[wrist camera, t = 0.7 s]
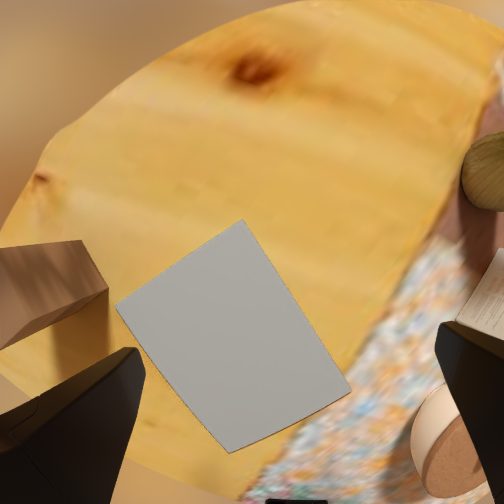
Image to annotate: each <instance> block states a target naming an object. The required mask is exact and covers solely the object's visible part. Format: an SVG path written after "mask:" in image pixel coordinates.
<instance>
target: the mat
mask: <svg viewBox="0 0 504 504" xmlns="http://www.w3.org/2000/svg"><path fill="white" fill-rule="evenodd" d="M115 308H116V309H117V311H118V312H119V314H120V315H121V317H122V318H123V320H124V321H125V323H126V324H127V326H128V327H129V329H130V330H131V332H132V333H133V335H134V336H135V338H136V339H137V341H138V342H139V343H140V345H141V346H142V348H143V349H144V351H145V352H146V353H147V355H148V356H149V357H150V359H151V360H152V362H153V363H154V364H155V366H156V367H157V368H158V370H159V371H160V372H161V374H162V375H163V376H164V378H165V379H166V380H167V381H168V383H169V384H170V385H171V387H172V388H173V389H174V390H175V392H176V393H177V394H178V395H179V397H180V398H181V399H182V400H183V402H184V403H185V404H186V405H187V406H188V408H189V409H190V410H191V411H192V412H193V414H194V415H195V416H196V417H197V418H198V419H199V421H200V422H201V423H202V424H203V425H204V426H205V428H206V429H207V430H208V431H209V432H210V433H211V434H212V435H213V437H214V438H215V439H216V440H217V441H218V442H219V443H220V444H221V445H222V446H223V447H224V448H225V450H226V451H227V452H228V453H230V452H233V451H235V450H238V449H240V448H242V447H245V446H247V445H249V444H252V443H254V442H256V441H258V440H260V439H263V438H265V437H267V436H269V435H271V434H273V433H275V432H277V431H280V430H282V429H284V428H286V427H288V426H290V425H292V424H294V423H295V422H297V421H299V420H301V419H303V418H305V417H307V416H309V415H311V414H313V413H314V412H316V411H318V410H320V409H322V408H323V407H325V406H327V405H329V404H330V403H332V402H334V401H336V400H337V399H339V398H341V397H342V396H344V395H346V394H347V393H349V392H351V391H352V389H351V387H350V386H349V384H348V383H347V381H346V379H345V378H344V376H343V375H342V373H341V372H340V370H339V368H338V367H337V365H336V364H335V362H334V360H333V359H332V357H331V356H330V354H329V353H328V351H327V349H326V348H325V346H324V345H323V343H322V342H321V340H320V338H319V337H318V335H317V334H316V332H315V331H314V329H313V327H312V326H311V324H310V323H309V321H308V320H307V318H306V316H305V315H304V313H303V312H302V310H301V309H300V307H299V305H298V304H297V302H296V301H295V299H294V298H293V296H292V295H291V293H290V291H289V290H288V288H287V287H286V285H285V284H284V282H283V281H282V279H281V277H280V276H279V274H278V273H277V271H276V270H275V268H274V267H273V265H272V263H271V262H270V260H269V259H268V257H267V256H266V254H265V253H264V251H263V250H262V248H261V246H260V245H259V243H258V242H257V240H256V239H255V237H254V236H253V234H252V233H251V231H250V229H249V228H248V226H247V225H246V223H245V222H244V220H243V219H242V220H240V221H239V222H237V223H235V224H234V225H232V226H231V227H229V228H228V229H226V230H225V231H223V232H222V233H220V234H219V235H217V236H216V237H214V238H213V239H211V240H210V241H208V242H207V243H205V244H204V245H202V246H201V247H199V248H198V249H196V250H195V251H193V252H192V253H190V254H189V255H187V256H186V257H184V258H183V259H181V260H180V261H178V262H177V263H175V264H174V265H172V266H171V267H170V268H168V269H167V270H165V271H164V272H162V273H161V274H159V275H158V276H156V277H155V278H153V279H152V280H151V281H149V282H148V283H146V284H145V285H143V286H142V287H140V288H139V289H138V290H136V291H135V292H133V293H132V294H130V295H129V296H127V297H126V298H125V299H123V300H122V301H120V302H119V303H118V304H116V305H115Z"/></svg>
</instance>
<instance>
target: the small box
mask: <svg viewBox="0 0 504 504" xmlns="http://www.w3.org/2000/svg"><path fill="white" fill-rule="evenodd" d="M456 321H457V322H458V323H459V324H462V325H465V326H467V327H470V328H473V329H475V330H478V331H481V332H483V333H486V334H489V335H491V336H494V337H497V338H499V339H502V340H504V248H499V249H498V250H497V252H496V254H495V256H494V258H493V260H492V262H491V263H490V265H489V267H488V269H487V270H486V272H485V274H484V275H483V277H482V279H481V281H480V282H479V284H478V285H477V287H476V289H475V290H474V292H473V293H472V295H471V297H470V298H469V300H468V301H467V303H466V304H465V306H464V307H463V309H462V310H461V312H460V313H459V315H458V316H457V318H456Z"/></svg>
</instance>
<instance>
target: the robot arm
mask: <svg viewBox="0 0 504 504" xmlns="http://www.w3.org/2000/svg"><path fill="white" fill-rule="evenodd" d="M435 354H436V357H437V359H438V362H439V364H440V367H441V370H442V372H443V375H444V378H445V381H446V384H447V386H448V389H449V391H450V394H451V396H452V398H453V400H454V402H455V404H456V407H457V409H458V411H459V413H460V415H461V417H462V420H463V422H464V424H465V426H466V429H467V431H468V433H469V436H470V438H471V440H472V443H473V445H474V448H475V450H476V453H477V455H478V458H479V460H480V463H481V465H482V468H483V470H484V473H485V476H486V479H487V481H488V484H489V487H490V490H491V493H492V496H493V498H494V502H495V504H504V340H502V339H499V338H497V337H494V336H491V335H489V334H486V333H483V332H481V331H478V330H475V329H473V328H470V327H467V326H465V325H462V324H459V323H457V322H454V321H448V322H443V323H441V324H440V325H439V328H438V333H437V337H436V342H435ZM145 376H146V372H145V367H144V364H143V361H142V358H141V355H140V352H139V350H138V349H137V348H136V347H124V348H122V349H120V350H118V351H117V352H115V353H113V354H111V355H110V356H108V357H106V358H104V359H103V360H101V361H99V362H97V363H96V364H94V365H92V366H90V367H89V368H87V369H85V370H83V371H82V372H80V373H78V374H76V375H74V376H73V377H71V378H69V379H67V380H66V381H64V382H62V383H60V384H58V385H57V386H55V387H53V388H51V389H50V390H48V391H46V392H44V393H42V394H41V395H40V396H37V397H35V398H33V399H31V400H30V401H28V402H26V403H24V404H22V405H20V406H18V407H16V408H14V409H12V410H10V411H8V412H6V413H4V414H1V415H0V504H110V501H111V498H112V494H113V491H114V487H115V484H116V481H117V478H118V474H119V471H120V468H121V464H122V461H123V458H124V455H125V452H126V449H127V446H128V442H129V439H130V436H131V433H132V430H133V427H134V424H135V421H136V418H137V414H138V409H139V404H140V400H141V395H142V390H143V386H144V381H145ZM265 504H328V501H326V500H283V499H267V500H266V501H265Z"/></svg>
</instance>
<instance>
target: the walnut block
mask: <svg viewBox="0 0 504 504" xmlns="http://www.w3.org/2000/svg"><path fill="white" fill-rule="evenodd" d="M107 288H109V287H108V286H107V284H106V282H105V281H104V279H103V277H102V276H101V274H100V272H99V270H98V269H97V267H96V265H95V264H94V262H93V260H92V258H91V257H90V255H89V253H88V251H87V249H86V248H85V246H84V244H83V242H82V240H75V241H65V242H54V243H45V244H35V245H26V246H17V247H8V248H0V350H2V349H4V348H6V347H8V346H10V345H12V344H14V343H16V342H18V341H20V340H22V339H24V338H26V337H28V336H30V335H32V334H34V333H36V332H38V331H40V330H42V329H44V328H46V327H48V326H50V325H52V324H54V323H56V322H58V321H60V320H62V319H64V318H66V317H68V316H71V315H73V314H74V313H76V312H77V311H78V310H80V309H81V308H82V307H83V306H85V305H86V304H87V303H89V302H90V301H91V300H93V299H94V298H95V297H97V296H98V295H99V294H101V293H102V292H103V291H105V290H106V289H107Z"/></svg>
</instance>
